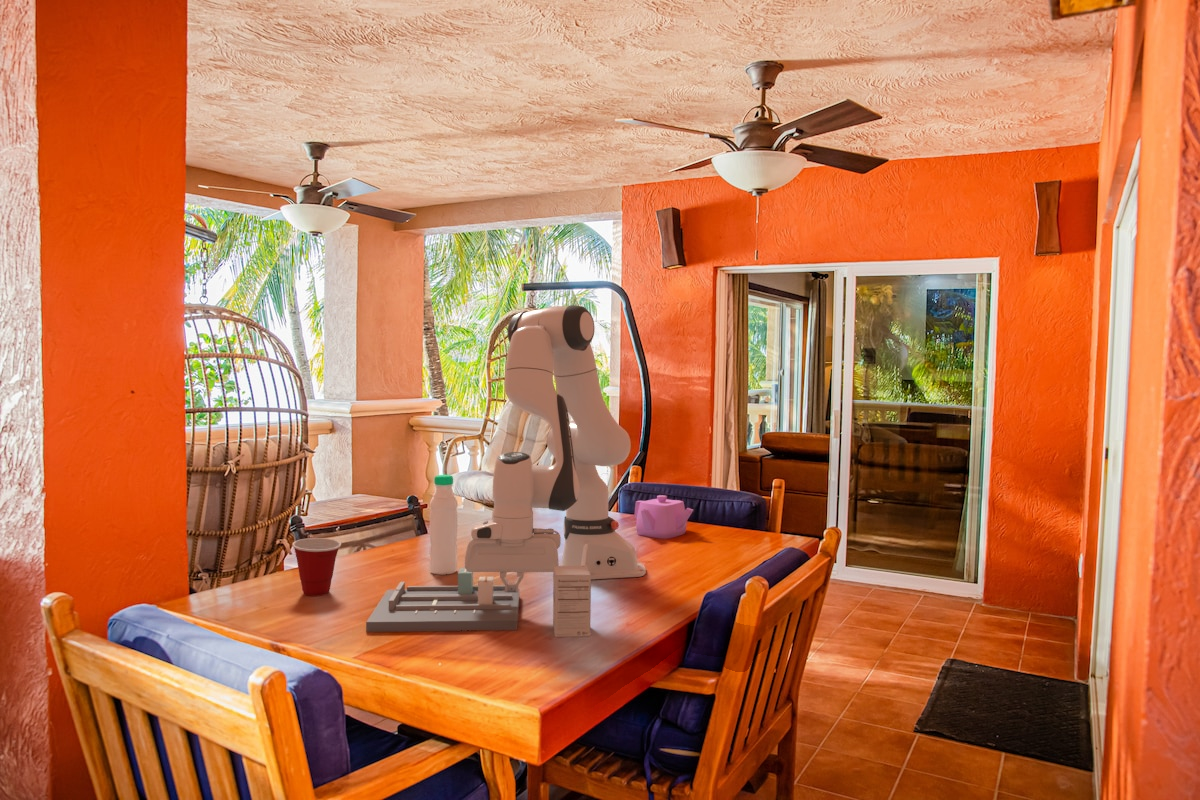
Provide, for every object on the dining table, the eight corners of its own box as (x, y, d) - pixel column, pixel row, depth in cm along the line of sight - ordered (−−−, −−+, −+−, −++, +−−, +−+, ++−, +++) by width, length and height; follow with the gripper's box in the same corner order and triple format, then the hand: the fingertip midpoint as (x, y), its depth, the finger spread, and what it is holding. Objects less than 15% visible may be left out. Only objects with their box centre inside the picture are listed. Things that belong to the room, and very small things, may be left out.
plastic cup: (317, 602, 188) (317, 549, 187) (281, 595, 192) (281, 544, 192) (351, 590, 198) (351, 540, 197) (316, 584, 202) (316, 535, 202)
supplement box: (552, 625, 173) (553, 565, 172) (588, 625, 174) (588, 564, 173) (553, 637, 166) (554, 574, 165) (590, 637, 166) (591, 573, 166)
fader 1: (473, 589, 191) (473, 567, 191) (471, 595, 186) (471, 572, 186) (459, 589, 191) (459, 567, 191) (457, 595, 186) (457, 572, 186)
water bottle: (451, 576, 212) (451, 477, 211) (425, 574, 213) (425, 476, 212) (461, 569, 219) (461, 474, 218) (435, 567, 220) (436, 473, 219)
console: (519, 597, 194) (519, 580, 194) (516, 630, 170) (517, 610, 170) (387, 598, 191) (387, 581, 191) (366, 631, 167) (366, 612, 167)
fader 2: (493, 599, 184) (493, 575, 183) (492, 605, 179) (492, 581, 178) (479, 599, 183) (479, 575, 183) (477, 605, 178) (478, 581, 178)
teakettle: (679, 528, 278) (680, 491, 278) (694, 538, 261) (695, 499, 261) (629, 529, 275) (630, 492, 275) (641, 540, 258) (641, 500, 258)
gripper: (560, 525, 185) (559, 588, 185) (466, 525, 183) (466, 587, 184) (561, 531, 178) (559, 595, 179) (464, 530, 177) (463, 595, 178)
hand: (511, 591), depth 181 cm, fingers closed
